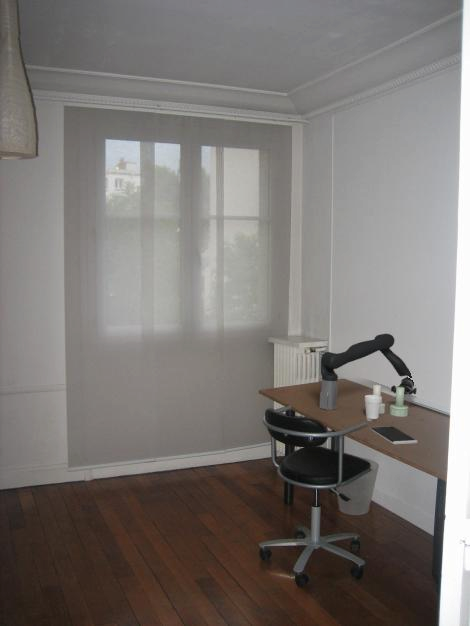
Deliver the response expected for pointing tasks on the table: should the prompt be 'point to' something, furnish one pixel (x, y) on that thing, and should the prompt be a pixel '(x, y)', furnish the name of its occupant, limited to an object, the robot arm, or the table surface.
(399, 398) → the pale green pedestal post
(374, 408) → the foam cup
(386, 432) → the smartphone
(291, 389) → the table surface
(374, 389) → the white joystick
